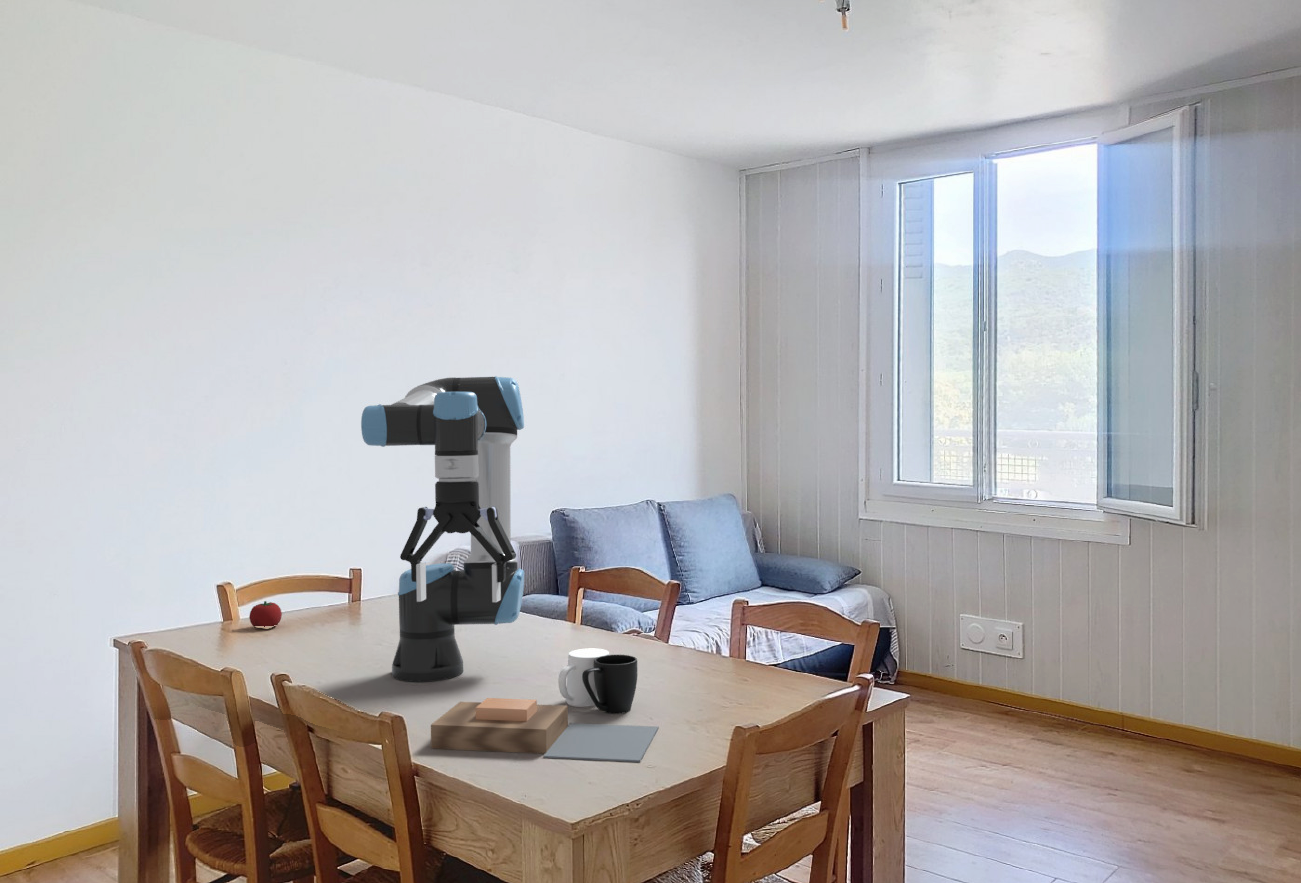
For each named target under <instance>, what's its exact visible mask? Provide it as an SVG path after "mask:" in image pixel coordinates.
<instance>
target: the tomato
mask: <svg viewBox="0 0 1301 883" xmlns="http://www.w3.org/2000/svg"><path fill="white" fill-rule="evenodd" d="M282 616H283V612H282V609H281V607H280V606H279V605H278V604H277V603H275V602H267V600H265V601H263V603H258V604H255V605H254V606H253V607H252V608H251V610H250V612H249V617H248V618H249V622H250V623H251V625H252V627H254V626H264V627H265V626H274V625H277V626H278V625H279V624H280V621H281V620H282ZM278 623H279V624H278Z"/></svg>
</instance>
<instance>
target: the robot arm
mask: <svg viewBox="0 0 1301 883" xmlns="http://www.w3.org/2000/svg"><path fill="white" fill-rule="evenodd" d="M524 416H525V415H524V409H523V403H522V397H521V392H520V386H519V384H518V381H517V380H516V379H515V378H513V377H503V376H497V375H495V376H477V377H476V376H475V377H474V376H473V377H472V376H471V377H445V378H439V379H434V380H433V381H428V382H426V383H422V384H420V385H417V386H416V387H414V388H412V389H410V390H409V391H408V392H407V393H406V395H405V397H403V398H402V399H400V400H398V401H396V402H394V403H392V404H380V403H379V404H378V405H377V404H376V405H375V404H374V405H368V406H365V408H364V409H363V411H362V414H361V421H360V425H361V426H360V427H361V429H360V430H361V437H362V440H363V441H364V443H365V444H366V445H367V446H370V447H371V446H372V447H373V446H374V447H375V446H377V447H386V446H387V447H390V446H393V447H394V446H434V477H435V478H436V479H438V481H436V482H435V483H434V488H435V489H434V490H435V492H434V493H435V494H434V496H435V497H434V498H435V507H434V508H429V507H427V506H422V507H419V508H417V515H416V521H415V523H414V525H413V527H412V530H411V532H410V534H409V535H408V536H409V537H408V539H407V540H406V542H405V545H404V546H403V549H402V551H401V554H400V555H399V556H400V557H399V558H400V559H401V560H402V561H405V562H408V563H410V569H408V570H405V571H404V572H402V573H401V574H400V576H399V580H398V592H397V595H398V611H399V612H398V616H399V617H398V618H399V623H398V624H399V640H398V641H399V642H398V645H397V647H396V651H395V654H394V658H393V661H392V664H391V677H393V678H394V679H396V680H399V681H404V682H418V683H419V682H434V681H435V682H436V681H442V680H448V679H451V678H455V677H457V676H460V675H462V674H463V672H464V659H463V657H462V655H461V651H460V648H459V645H458V642H457V639H456V636H455V635H456V634H455V625H456V626H457V625H461V626H462V625H495V626H496V625H500V624H512V623H514V622H515V621H516V620H517V619H519V616H520V612H521V608H522V607H521V606H522V602H523V596H524V587H525V571H524V569H522V568H518V559H516V557H517V553H516V552H515V549H514V547H513V546H512V544H511V446H512V444H513V443H514V442H515V441H516V440H517V439H518V431H520V430H523V429H524V427H525V420H524ZM432 517H434V519H435V520H436V522H437V524H436V526H435V527H434V528H433V530H432V531H431V533H429V534H428V536H427V537H426V539H425V540H424V541H423V543H422V544H421V545H420V546H419V548H418V549H417V550H416V547H417V545H418V544H419V541H420V538H421V536H422V534H423V532H424V530H425V528H426V525H427V524H428V521H430V520H431V519H432ZM445 533H447V534H454V533H457V534H458V533H459V534H466V533H470V554H469V555H468V557H467V558H466V559H465V560H464V561H463V570H455V566H454V564H453V563H449V562H448V563H443V562H442V563H435V564H429V565H426V562H422V561H423V559H424V557H425V556H426V555H427V554H428V552H430V550H431V549H432V548H433V546H434V545H435V544H436V543H437V541H438V540H439V539H440V538H441V536H443V534H445ZM415 550H416V551H415Z"/></svg>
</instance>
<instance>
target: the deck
mask: <svg viewBox="0 0 1301 883" xmlns="http://www.w3.org/2000/svg"><path fill="white" fill-rule="evenodd" d="M482 702H483V701H482ZM482 702H478V701H476V702H475V701H474V702H473V701H459V702H458V703H456V704H455V705H454V706H453V707H452V708H450V709H449V710H447V712H445V713H444V714H442V716H440V717H439V718H438V719H436V720H435V721H433V722H432V723H430V741H431V742H430V746H431V747H430V749H436V750H438V749H439V750H455V751H457V750H461V751H479V752H480V751H481V752H483V751H484V752H502V753H525V754H543V755H544V754H545V753H546V752H547V751H548V750H549V748H550V747H551V746H552V745H553V744H554V742H555V741H556V740H557V739H558V738H559V736H560V735H561V734H562V733H563V732H564V730H565V729H566V728H567V727H568V726H569V718H568V717H569V715H568V714H569V713H568V712H569V711H568V709H569V708H568V706H569V705H558V704H537V712H536V713H535V714H534V715H533V716H532V717H531V718H530V719H529V720H528V721H507V720H482V719H476V707H477V706H478V705H479V704H481V703H482Z"/></svg>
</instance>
